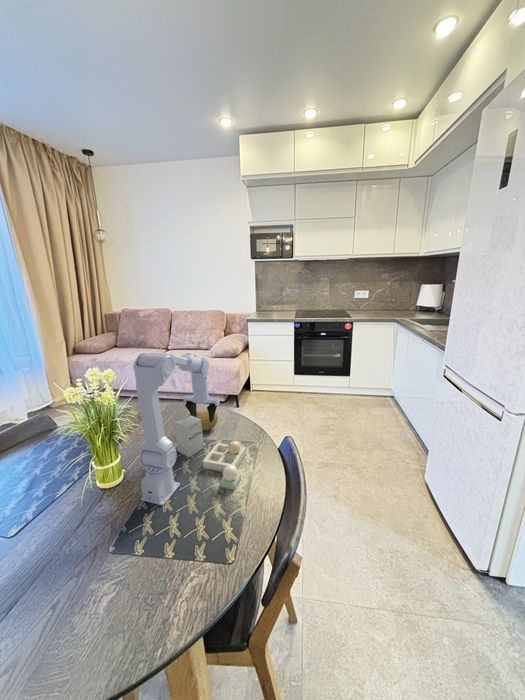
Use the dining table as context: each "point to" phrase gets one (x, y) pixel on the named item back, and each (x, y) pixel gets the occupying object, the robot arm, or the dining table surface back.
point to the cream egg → (230, 472)
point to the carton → (222, 458)
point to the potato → (206, 420)
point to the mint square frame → (230, 482)
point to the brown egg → (234, 447)
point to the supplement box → (189, 435)
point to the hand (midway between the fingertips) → (203, 419)
